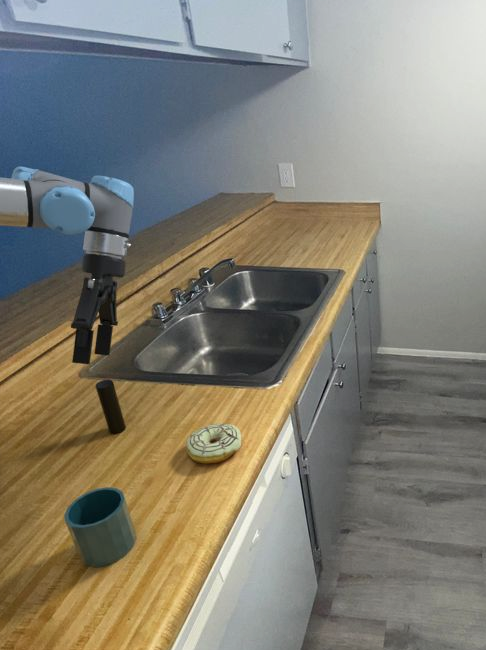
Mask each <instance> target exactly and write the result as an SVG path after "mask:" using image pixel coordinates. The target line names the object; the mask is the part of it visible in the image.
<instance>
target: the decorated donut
mask: <svg viewBox="0 0 486 650" xmlns="http://www.w3.org/2000/svg"><path fill="white" fill-rule="evenodd" d="M242 437H243V436H242V433H241V430H240V429H239V428H238V427H237V426H236V425H233V424H230V423H229V424H228V423H212V424H209V425H205V426H202V427H200V428H199V429H197V430H195V431H193V432H192V433H191V434H190V436H188V438H187V440H186V441H185V449H186V452H187V454H188V457H190V458H191V460H193V461H195V462H197V463H199V464H200V463H201V464H204V465H205V464H206V465H207V464H216V463H220V462H223V461H225V460H227V459H229V458H230V457H231V456H232V455H233V454H234V453H236V452H237V451H239V450H240V448H241V446H242V439H243V438H242Z"/></svg>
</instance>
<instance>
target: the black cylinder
mask: <svg viewBox="0 0 486 650" xmlns="http://www.w3.org/2000/svg"><path fill="white" fill-rule="evenodd" d="M94 387H95V390H96V394H97V396H98V399H99V403H100V406H101V409H102V412H103V415H104V416H103V417H104V420H105V422H106V425H107V428H108V432H109V434H111V435H117V434H121V433H122V432H124V431H125V430H126V429H127V426H126V422H125V420H124V419H125V418H124V415H123V412H122V407H121V405H120V401H119V397H118V395H117V391H116V388H115V384H114V381H113V380H112V379H103V380H100V381H98V382H96V383H95V386H94Z"/></svg>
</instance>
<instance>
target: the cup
mask: <svg viewBox="0 0 486 650" xmlns="http://www.w3.org/2000/svg"><path fill="white" fill-rule="evenodd" d="M63 516H64V517H63V518H64V522H65V524H66V527H67V530H68V532H69V534H70V538H71V539H72V540H71V541H72V542H73V544H74V547H75V550H76V552H77V554H78V557H79V559H80V561H81V563H83V565H85V566H87V567H91V568H101V567H102V568H103V567H106V566H110V565H111V564H115V563H116V562H118V561H120V560H121V559H123V558H124V557H125V556H126V555H128V554H129V553H130V551H131V550H132V549H133V548H134V546H135V544H136V541H137V533H136V529H135V527H134V523H133V519H132V517H131V513H130V510H129V507H128V503H127V501H126V497H125V495H124V492H123V491H122V490H120V489H118V488H117V487H109V486H105V487H99V488H95V489H92V490H90V491H87V492H84V493H82V494H81V495H79V497H77V498H76V499H74V500H73V501H72V502H71V503H70V505H68V506H67V508H66V510H65V512H64V514H63Z"/></svg>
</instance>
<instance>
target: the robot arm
mask: <svg viewBox="0 0 486 650" xmlns="http://www.w3.org/2000/svg"><path fill="white" fill-rule="evenodd" d="M134 192H135V189H134V187H133V186H132V184H130V183H129V182H126V181H124V180H122V179H118V178H115V177H110V176H105V175H94V176H92V178H91V180H90V182H84V181H79V180H75V179H73V178H72V179H71V178H69V177H65V176H61V175H58V174H54V173H50V172H46V171H43V170H41V169H37V168H35V169H34V168H31V167H26V166H17V167H15V168H14V170H13V171H12V174H11V178H8V177H0V227H17V228H32V229H47V230H48V229H49V230H52V231H54V232H57V233H60V234H63V235H69V236H70V235H71V236H72V235H74V236H75V235H79V234H83V233H84V239H83V244H82V245H83V246H82V250H83V251H84V252H85V253H83V254H82V255H81V264H80V271H81V272H82V273H87V274H91V276H90V277H88V276H87V277H84V278H83V284H82V289H81V293H80V296H79V299H78V303H77V307H76V310H75V313H74V317H73V320H72V322H71V323H70V329H73V330H74V329H75V335H74V336H75V337H74V345H73V353H72V361H71V363H72V364H83V365H90V364H91V357H92V348H93V341H94V334H95V330H93V328H94V325H95V322H96V319H97V317H98V318H99V324H97V330H96V338H95V345H94V353H93V354H94V355H100V356H108V357H109V356H110V354H111V346H112V338H113V330H114V327H117V326H118V325H119V321H118V315H117V309H118V307H117V289H118V281H117V280H113V279H114V277H115V278H124V277H125V272H126V266H127V265H126V264H127V262H126V260H124V259H123V258H127V253H128V249H130V248H131V247H132V245H131V243H130V242H129V239H130V231H131V223H132V217H133V210H134V207H135V206H134V198H135V193H134Z"/></svg>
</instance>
